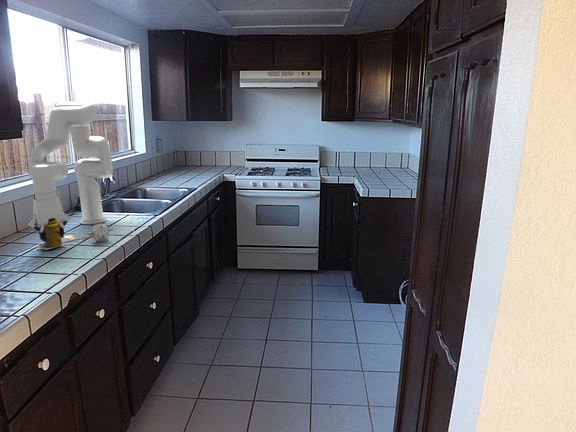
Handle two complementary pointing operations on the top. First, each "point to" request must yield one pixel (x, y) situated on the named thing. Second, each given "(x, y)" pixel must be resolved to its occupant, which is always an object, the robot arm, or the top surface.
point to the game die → (100, 232)
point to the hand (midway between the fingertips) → (52, 238)
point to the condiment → (52, 235)
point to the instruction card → (74, 237)
